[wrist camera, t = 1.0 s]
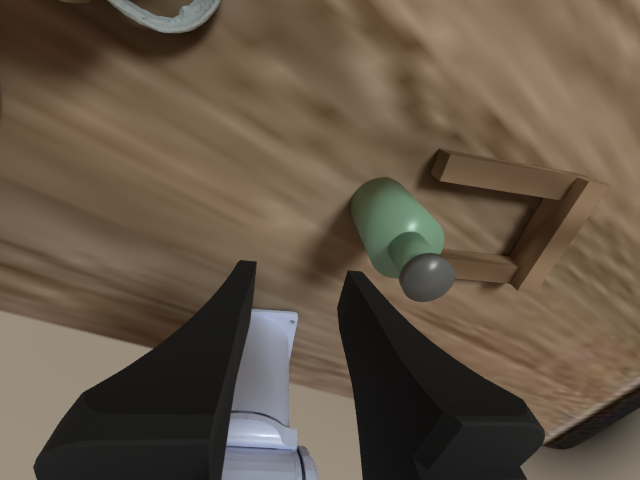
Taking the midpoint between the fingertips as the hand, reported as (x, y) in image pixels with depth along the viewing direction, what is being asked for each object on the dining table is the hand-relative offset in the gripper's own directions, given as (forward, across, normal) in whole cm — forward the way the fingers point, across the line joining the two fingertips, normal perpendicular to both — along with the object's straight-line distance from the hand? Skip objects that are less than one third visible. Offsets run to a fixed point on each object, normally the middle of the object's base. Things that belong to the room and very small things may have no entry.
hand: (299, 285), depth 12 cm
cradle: (+10, -14, 0) cm, 18 cm away
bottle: (+10, -6, 0) cm, 12 cm away
